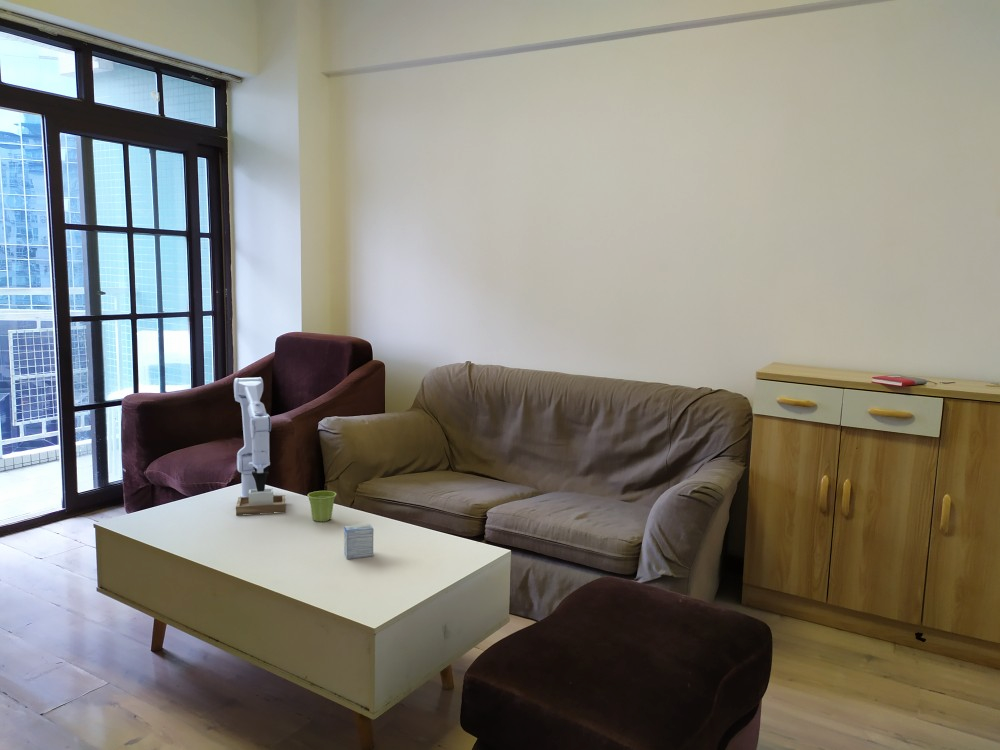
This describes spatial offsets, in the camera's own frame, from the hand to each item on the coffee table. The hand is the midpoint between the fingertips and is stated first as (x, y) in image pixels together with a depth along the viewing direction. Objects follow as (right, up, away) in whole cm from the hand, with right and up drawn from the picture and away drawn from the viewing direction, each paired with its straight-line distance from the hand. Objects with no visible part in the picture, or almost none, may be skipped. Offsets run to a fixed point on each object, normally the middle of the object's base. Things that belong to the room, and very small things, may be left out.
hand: (261, 488), depth 257 cm
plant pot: (+23, -9, -9) cm, 27 cm away
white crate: (0, -6, +1) cm, 6 cm away
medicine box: (+42, -13, -42) cm, 61 cm away
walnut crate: (0, -7, +1) cm, 7 cm away
